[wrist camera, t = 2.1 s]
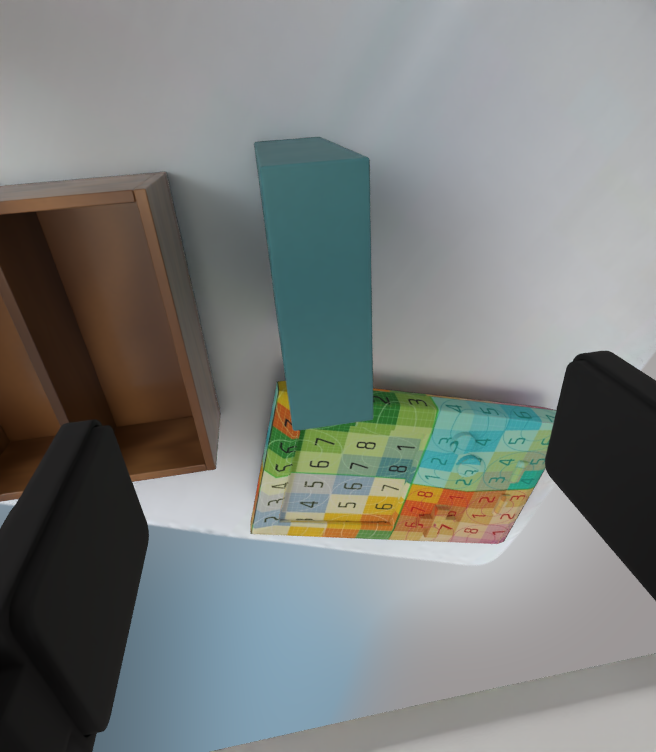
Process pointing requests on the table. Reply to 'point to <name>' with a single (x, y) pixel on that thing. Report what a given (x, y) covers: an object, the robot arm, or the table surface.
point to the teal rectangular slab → (320, 276)
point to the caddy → (100, 327)
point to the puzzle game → (403, 470)
